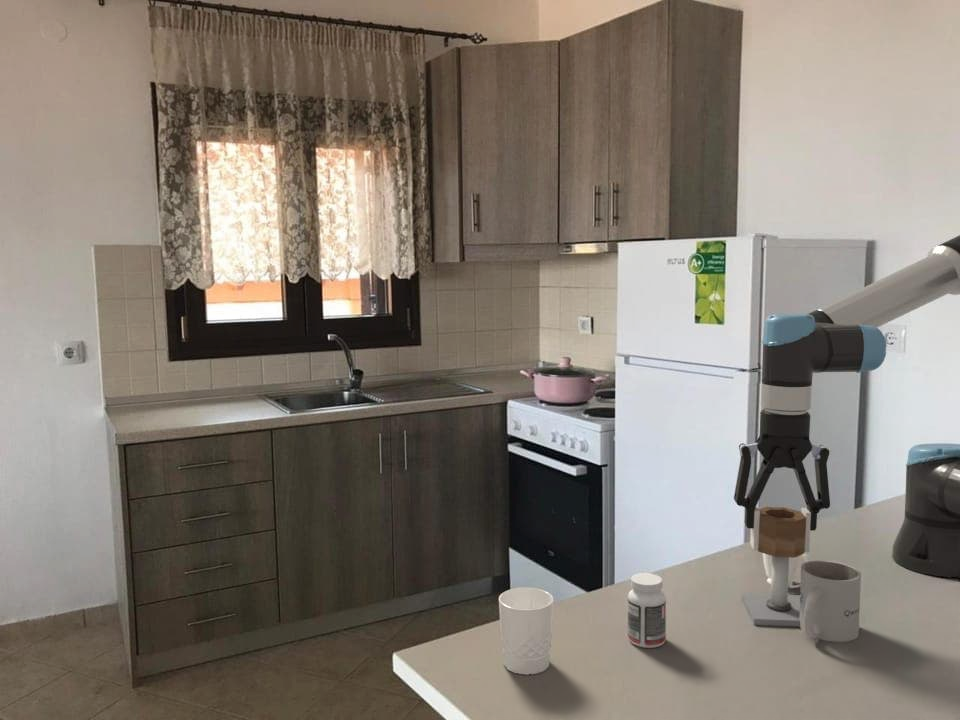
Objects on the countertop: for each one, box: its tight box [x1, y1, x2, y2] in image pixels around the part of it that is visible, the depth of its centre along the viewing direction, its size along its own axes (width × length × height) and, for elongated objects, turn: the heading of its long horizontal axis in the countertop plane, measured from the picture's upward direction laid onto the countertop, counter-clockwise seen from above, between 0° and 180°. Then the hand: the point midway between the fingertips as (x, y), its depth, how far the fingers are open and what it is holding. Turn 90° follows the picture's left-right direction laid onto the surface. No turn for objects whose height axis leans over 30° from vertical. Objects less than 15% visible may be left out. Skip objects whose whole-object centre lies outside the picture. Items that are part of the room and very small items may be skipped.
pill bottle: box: [627, 572, 667, 649], centre depth 123 cm, size 6×6×10 cm
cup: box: [762, 553, 811, 589], centre depth 143 cm, size 7×10×8 cm
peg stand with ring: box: [741, 556, 800, 628], centre depth 132 cm, size 10×10×10 cm
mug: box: [799, 560, 862, 643], centre depth 125 cm, size 12×9×10 cm
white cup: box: [498, 587, 554, 676], centre depth 117 cm, size 8×8×10 cm
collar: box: [757, 506, 806, 558], centre depth 131 cm, size 7×7×6 cm
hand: (779, 547), depth 132 cm, fingers closed on collar, 7 cm apart
